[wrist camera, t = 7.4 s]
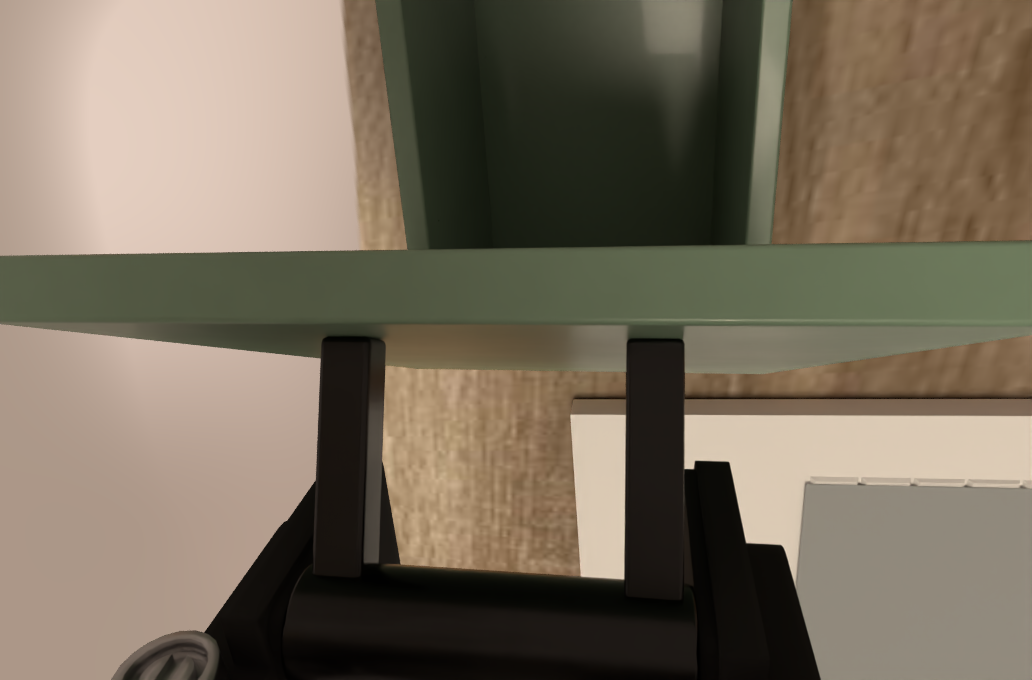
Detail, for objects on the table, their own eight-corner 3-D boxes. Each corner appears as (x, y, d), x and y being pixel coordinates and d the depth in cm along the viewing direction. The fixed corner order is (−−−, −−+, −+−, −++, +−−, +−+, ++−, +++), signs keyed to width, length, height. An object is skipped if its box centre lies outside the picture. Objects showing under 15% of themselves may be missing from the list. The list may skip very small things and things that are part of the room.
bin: (450, -112, 28) (350, -183, 18) (749, -144, 26) (814, -243, 16) (481, 259, 34) (420, 351, 25) (725, 256, 32) (762, 355, 23)
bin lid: (-16, 255, 8) (-52, 730, 8) (1094, 238, 6) (1118, 873, 6) (416, 346, 24) (411, 502, 24) (764, 349, 22) (765, 520, 22)
